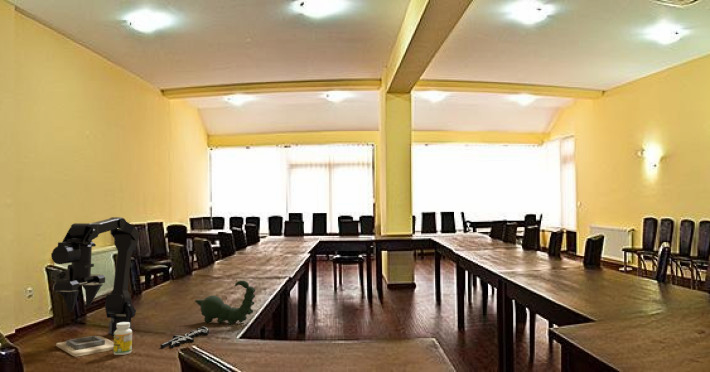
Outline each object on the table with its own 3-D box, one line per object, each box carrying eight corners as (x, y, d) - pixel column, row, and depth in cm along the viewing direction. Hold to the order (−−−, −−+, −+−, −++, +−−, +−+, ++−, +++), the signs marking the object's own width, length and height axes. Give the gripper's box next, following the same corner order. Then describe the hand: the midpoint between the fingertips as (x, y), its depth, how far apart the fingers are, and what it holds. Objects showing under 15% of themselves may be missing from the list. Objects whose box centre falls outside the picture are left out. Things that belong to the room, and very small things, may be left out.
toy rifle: (192, 326, 191) (216, 327, 190) (192, 330, 191) (216, 331, 190) (153, 344, 164) (181, 346, 163) (153, 349, 164) (181, 350, 163)
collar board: (100, 338, 175) (100, 331, 176) (120, 348, 163) (121, 340, 164) (56, 346, 165) (56, 338, 165) (75, 357, 153) (75, 349, 153)
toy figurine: (254, 325, 206) (197, 318, 208) (258, 280, 206) (202, 273, 209) (247, 330, 196) (187, 323, 199) (252, 283, 197) (193, 276, 200)
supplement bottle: (134, 352, 159) (135, 322, 159) (119, 356, 154) (120, 325, 155) (125, 349, 162) (126, 320, 162) (109, 353, 157) (110, 323, 158)
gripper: (76, 258, 171) (74, 302, 170) (38, 263, 153) (35, 314, 152) (106, 258, 170) (105, 303, 169) (71, 264, 152) (69, 315, 151)
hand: (79, 308), depth 160 cm, fingers open, 9 cm apart
